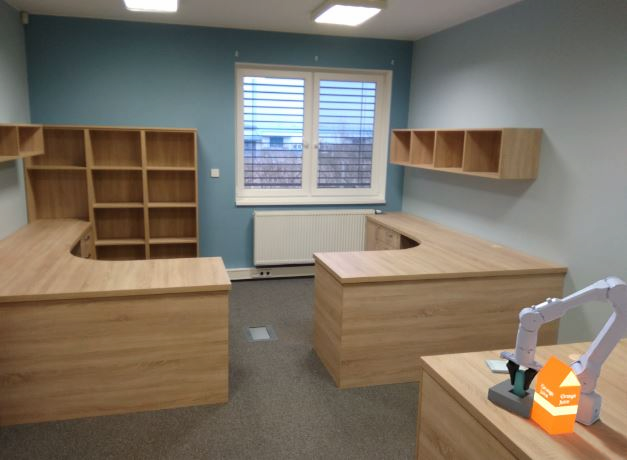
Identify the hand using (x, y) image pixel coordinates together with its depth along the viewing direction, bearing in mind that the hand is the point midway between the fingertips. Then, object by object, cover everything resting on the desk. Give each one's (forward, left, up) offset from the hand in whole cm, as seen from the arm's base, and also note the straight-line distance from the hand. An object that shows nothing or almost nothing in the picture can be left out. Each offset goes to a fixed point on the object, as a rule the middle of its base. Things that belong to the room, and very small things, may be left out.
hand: (519, 387), depth 160 cm
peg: (0, 0, -3) cm, 3 cm away
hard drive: (+16, -19, -6) cm, 26 cm away
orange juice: (-13, +3, -6) cm, 14 cm away
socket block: (0, 0, -5) cm, 5 cm away
